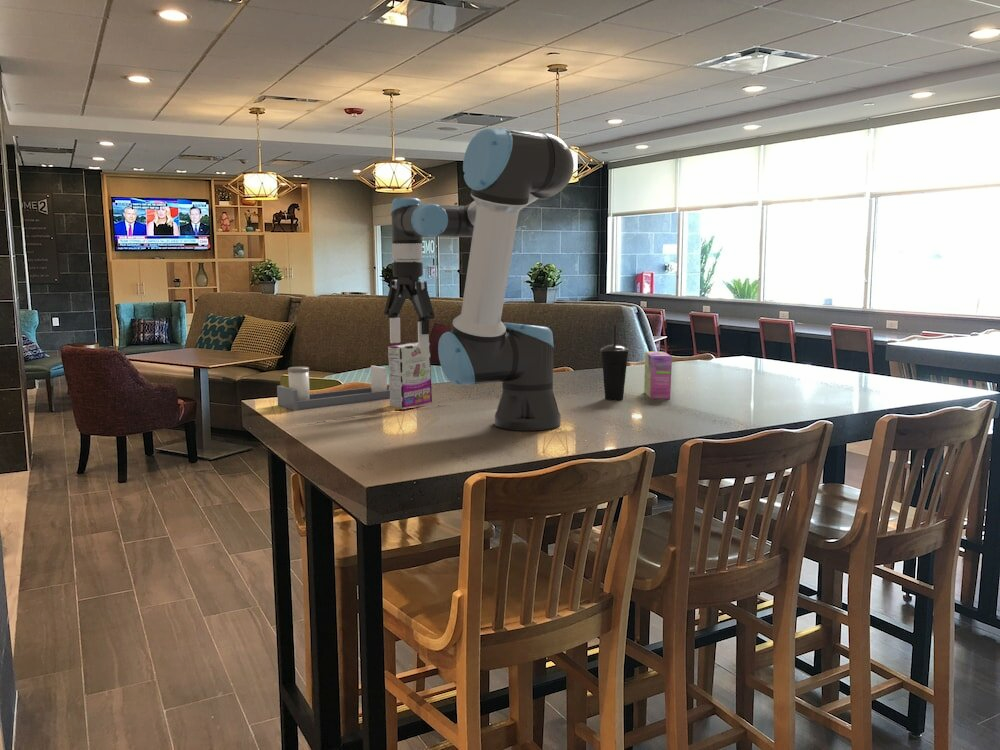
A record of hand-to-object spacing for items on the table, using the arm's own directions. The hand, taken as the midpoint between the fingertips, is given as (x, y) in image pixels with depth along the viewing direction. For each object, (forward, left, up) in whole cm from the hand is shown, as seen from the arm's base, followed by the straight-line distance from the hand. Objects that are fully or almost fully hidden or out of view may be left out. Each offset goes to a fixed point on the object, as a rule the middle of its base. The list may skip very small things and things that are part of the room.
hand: (409, 345), depth 202 cm
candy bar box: (0, 0, -16) cm, 16 cm away
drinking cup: (-25, -49, -16) cm, 57 cm away
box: (-29, -62, -16) cm, 70 cm away
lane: (+15, +12, -16) cm, 25 cm away
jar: (+15, +24, -15) cm, 32 cm away
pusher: (+15, 0, -15) cm, 21 cm away
